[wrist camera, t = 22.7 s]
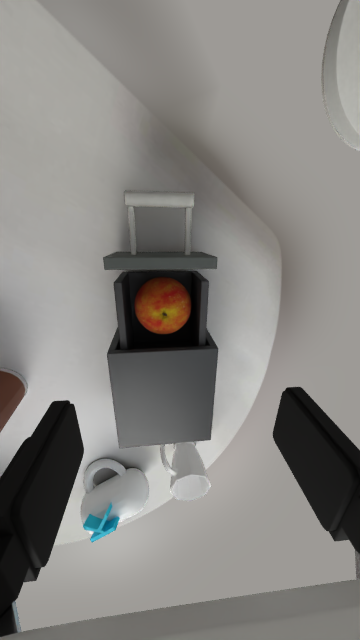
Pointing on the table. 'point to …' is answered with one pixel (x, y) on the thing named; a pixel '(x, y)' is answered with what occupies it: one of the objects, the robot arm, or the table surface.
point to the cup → (186, 472)
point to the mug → (112, 498)
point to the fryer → (163, 393)
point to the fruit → (162, 305)
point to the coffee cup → (10, 394)
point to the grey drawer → (131, 282)
